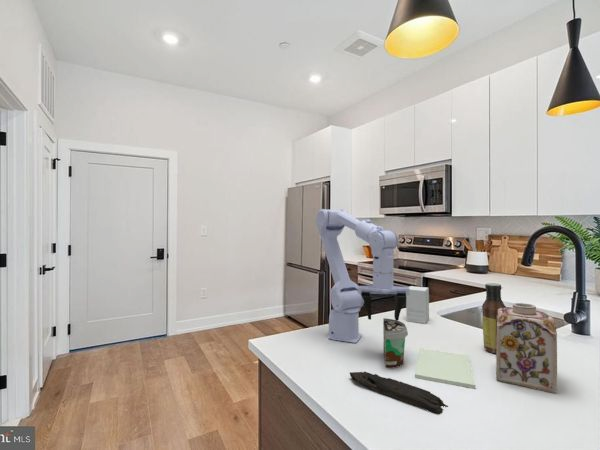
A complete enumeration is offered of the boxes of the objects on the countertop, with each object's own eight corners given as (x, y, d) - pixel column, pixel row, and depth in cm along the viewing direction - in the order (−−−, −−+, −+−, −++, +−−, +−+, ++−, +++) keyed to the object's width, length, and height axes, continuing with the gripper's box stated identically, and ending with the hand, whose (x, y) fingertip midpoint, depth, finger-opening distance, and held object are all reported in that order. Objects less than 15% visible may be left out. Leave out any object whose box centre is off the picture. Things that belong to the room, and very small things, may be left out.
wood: (451, 402, 69) (451, 388, 69) (442, 418, 63) (442, 403, 63) (359, 372, 82) (359, 360, 82) (344, 383, 77) (344, 370, 77)
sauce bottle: (506, 349, 96) (506, 283, 96) (509, 356, 91) (510, 286, 91) (481, 345, 99) (481, 281, 99) (483, 352, 94) (483, 285, 93)
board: (415, 377, 79) (415, 374, 79) (419, 350, 95) (419, 348, 95) (475, 388, 73) (475, 385, 73) (468, 358, 90) (468, 355, 90)
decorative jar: (557, 395, 71) (558, 313, 71) (495, 381, 77) (496, 306, 77) (550, 373, 81) (550, 302, 81) (496, 363, 87) (496, 296, 87)
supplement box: (429, 319, 126) (429, 287, 126) (425, 324, 120) (425, 290, 120) (410, 316, 130) (410, 285, 130) (405, 321, 124) (405, 288, 124)
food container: (410, 372, 81) (410, 333, 81) (385, 370, 83) (385, 331, 83) (405, 353, 94) (405, 318, 93) (383, 351, 95) (383, 317, 95)
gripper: (358, 273, 89) (358, 322, 89) (412, 274, 88) (412, 324, 88) (356, 270, 96) (356, 315, 96) (406, 270, 95) (406, 316, 95)
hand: (382, 318), depth 93 cm, fingers open, 7 cm apart
